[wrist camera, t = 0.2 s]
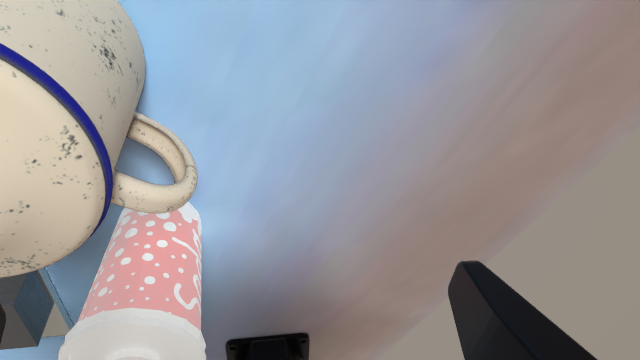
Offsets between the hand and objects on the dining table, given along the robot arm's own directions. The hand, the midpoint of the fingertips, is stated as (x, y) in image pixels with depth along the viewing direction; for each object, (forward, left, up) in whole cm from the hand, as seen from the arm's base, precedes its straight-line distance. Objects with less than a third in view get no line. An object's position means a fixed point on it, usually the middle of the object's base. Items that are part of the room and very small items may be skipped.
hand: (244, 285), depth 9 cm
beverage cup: (-12, +5, -15) cm, 20 cm away
